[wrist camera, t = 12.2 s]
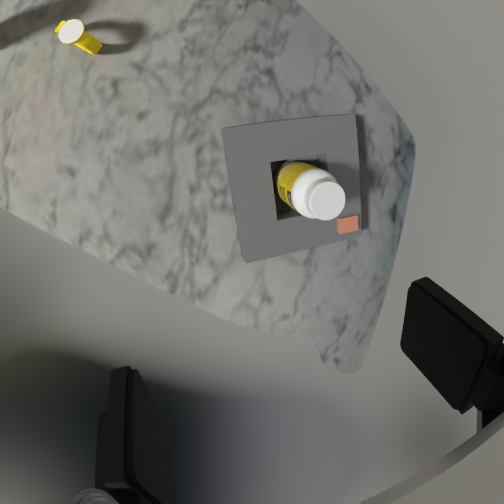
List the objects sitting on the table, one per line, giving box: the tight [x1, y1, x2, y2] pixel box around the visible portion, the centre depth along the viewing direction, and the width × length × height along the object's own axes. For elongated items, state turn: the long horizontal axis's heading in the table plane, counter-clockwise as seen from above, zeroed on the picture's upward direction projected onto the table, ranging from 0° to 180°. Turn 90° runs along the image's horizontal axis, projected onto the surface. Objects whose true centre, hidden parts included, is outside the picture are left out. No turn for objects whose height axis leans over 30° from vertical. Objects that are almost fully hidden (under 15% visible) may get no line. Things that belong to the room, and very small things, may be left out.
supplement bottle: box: [274, 161, 345, 220], centre depth 35 cm, size 5×5×10 cm
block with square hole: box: [221, 115, 361, 263], centre depth 38 cm, size 16×16×3 cm
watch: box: [55, 19, 103, 55], centre depth 24 cm, size 6×3×6 cm, turn 51°
